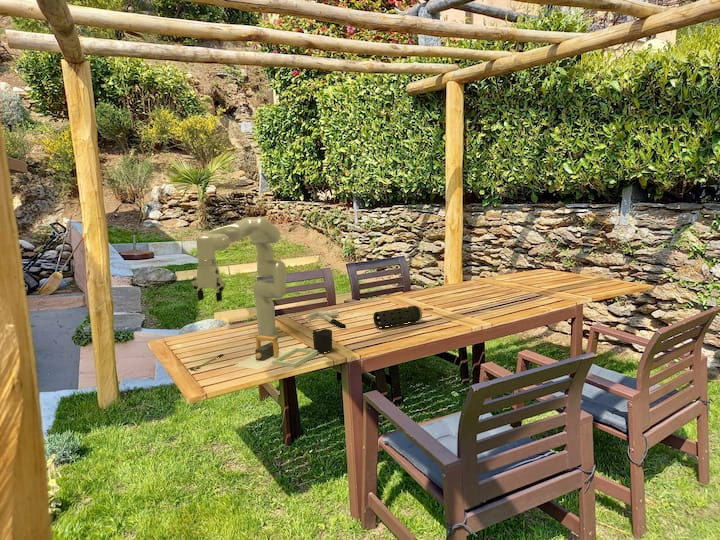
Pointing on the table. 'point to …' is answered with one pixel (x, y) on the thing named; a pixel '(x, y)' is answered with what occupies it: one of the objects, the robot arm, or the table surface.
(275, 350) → the orange pull handle
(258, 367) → the board
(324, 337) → the pen holder
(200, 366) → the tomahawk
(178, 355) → the table surface
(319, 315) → the claw hammer
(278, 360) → the tray
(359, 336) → the table surface
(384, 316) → the muzzle brake
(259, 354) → the dark grey block
